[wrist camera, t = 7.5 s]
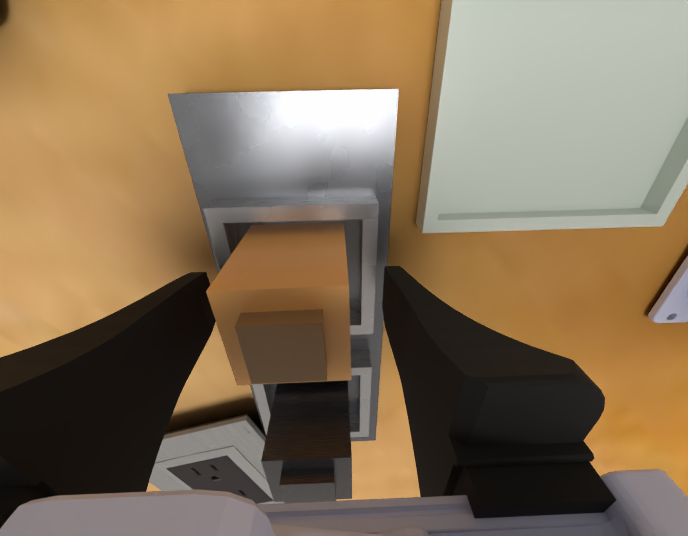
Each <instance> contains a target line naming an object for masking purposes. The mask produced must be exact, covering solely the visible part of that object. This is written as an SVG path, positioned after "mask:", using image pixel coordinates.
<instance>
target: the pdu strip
mask: <svg viewBox="0 0 688 536" xmlns="http://www.w3.org/2000/svg"><path fill="white" fill-rule="evenodd" d="M398 92H399V89H369V90H323V91H276V92H229V93H182V94H168V97H169V100H170V104H171V107H172V111H173V114H174V118H175V121H176V125H177V129H178V132H179V136H180V139H181V143H182V146H183V150H184V153H185V157H186V160H187V164H188V167H189V171H190V174H191V178H192V181H193V185H194V188H195V192H196V196H197V199H198V203H199V206H200V210H201V213H202V217H203V220H204V224H205V227H206V231H207V234H208V238H209V241H210V245H211V248H212V252H213V256H214V259H215V263H216V266H217V270H218V273H219V272H220V270H221V269H222V267H223V266H224V265H225V263H226V262H227V260H228V259H229V257H230V256H231V254H232V253H233V251H234V250H235V249H236V247H237V246H238V244H239V243H240V241H241V240H242V238H243V237H244V235H245V234H246V233H247V231H248V230H249V228H250V227H251V225H274V224H299V223H325V222H344V231H345V243H346V256H347V268H348V280H349V306H350V346H351V380H345V381H323V382H301V383H279V384H257V385H250V386H251V390H252V393H253V397H254V400H255V404H256V407H257V411H258V414H259V418H260V421H261V425H262V428H263V432H264V435H265V436H266V440H265V445H264V450H263V454H262V459H261V463H262V466H263V469H264V472H265V475H266V478H267V482H268V485H269V488H270V491H271V494H272V497H273V500H274V502H284V503H302V502H324V501H336V499H352V457H351V441H370V440H376V425H377V410H378V395H379V380H380V364H381V349H382V334H383V319H384V316H383V310H382V299H383V283H384V266H387V258H388V243H389V228H390V213H391V198H392V183H393V168H394V152H395V137H396V122H397V107H398Z"/></svg>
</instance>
